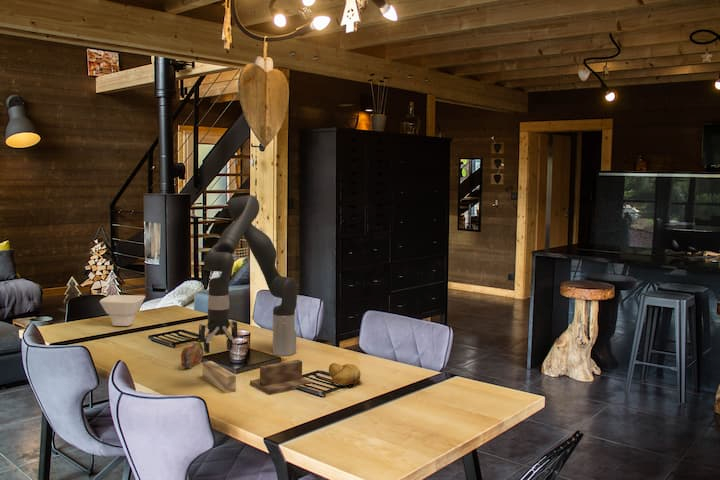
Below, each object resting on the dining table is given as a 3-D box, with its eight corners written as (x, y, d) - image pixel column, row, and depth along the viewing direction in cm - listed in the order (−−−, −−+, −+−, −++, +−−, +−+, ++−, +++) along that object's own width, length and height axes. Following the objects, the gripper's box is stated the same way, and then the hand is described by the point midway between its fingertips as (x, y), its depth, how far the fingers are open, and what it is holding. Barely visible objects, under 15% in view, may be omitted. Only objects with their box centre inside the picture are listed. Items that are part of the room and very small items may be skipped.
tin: (187, 371, 257) (187, 349, 256) (179, 370, 258) (179, 349, 257) (203, 361, 272) (203, 340, 271) (196, 360, 272) (196, 340, 272)
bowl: (135, 330, 324) (135, 302, 322) (96, 329, 324) (95, 301, 323) (148, 322, 342) (148, 295, 341) (111, 321, 342) (110, 294, 341)
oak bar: (211, 376, 251) (211, 360, 251) (235, 392, 234) (235, 375, 233) (202, 377, 249) (202, 362, 249) (226, 393, 232) (226, 376, 231)
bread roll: (352, 377, 253) (352, 357, 253) (369, 383, 246) (369, 362, 245) (325, 383, 245) (326, 362, 244) (342, 390, 238) (343, 368, 237)
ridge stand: (292, 376, 253) (292, 356, 252) (312, 385, 242) (312, 364, 241) (249, 384, 242) (250, 363, 241) (269, 394, 230) (269, 372, 230)
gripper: (231, 303, 246) (231, 346, 248) (195, 307, 238) (195, 351, 239) (241, 307, 240) (240, 351, 242) (204, 310, 232) (204, 356, 233)
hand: (218, 351), depth 240 cm, fingers open, 8 cm apart
